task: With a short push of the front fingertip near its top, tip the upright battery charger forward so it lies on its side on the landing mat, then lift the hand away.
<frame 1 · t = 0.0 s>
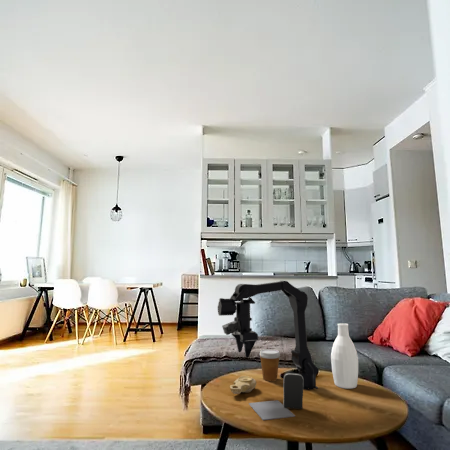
hand: (243, 354, 135), 15 cm above the table, tool pointing down, fingers open, 9 cm apart
oil lamp: (243, 393, 134), on the table
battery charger: (292, 407, 119), on the table, touching landing mat
bottle: (345, 385, 143), on the table
disposable coffee cup: (270, 379, 151), on the table
landing mat: (270, 409, 117), on the table
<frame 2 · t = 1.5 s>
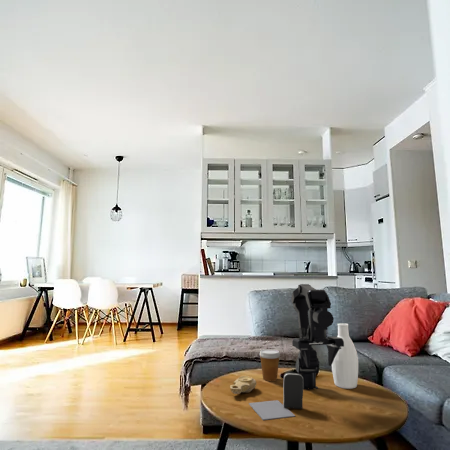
hand: (318, 366, 124), 13 cm above the table, tool pointing down, fingers open, 9 cm apart
nothing on the table moved.
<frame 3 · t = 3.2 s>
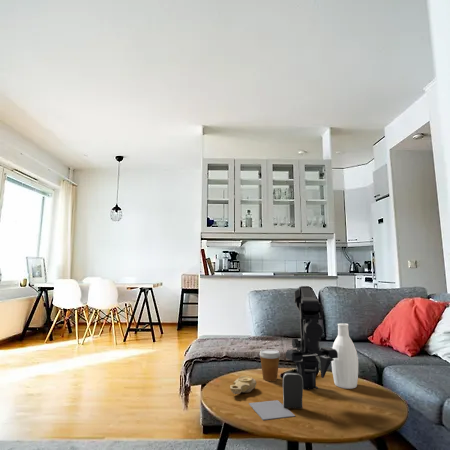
hand: (312, 378, 122), 9 cm above the table, tool pointing down, fingers open, 8 cm apart
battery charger: (292, 407, 119), on the table, touching gripper, landing mat
everything else where it was.
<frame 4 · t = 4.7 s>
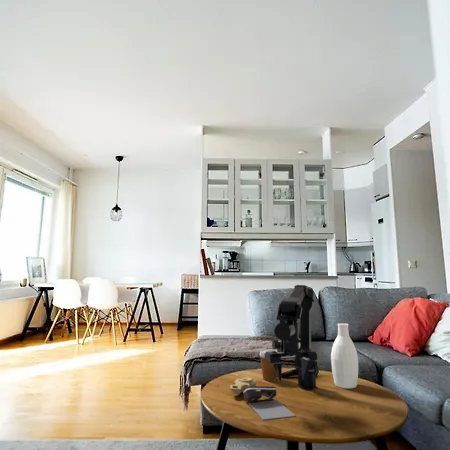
hand: (291, 380, 120), 9 cm above the table, tool pointing down, fingers open, 9 cm apart
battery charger: (274, 394, 125), point 2 cm above the table
everything else where it was.
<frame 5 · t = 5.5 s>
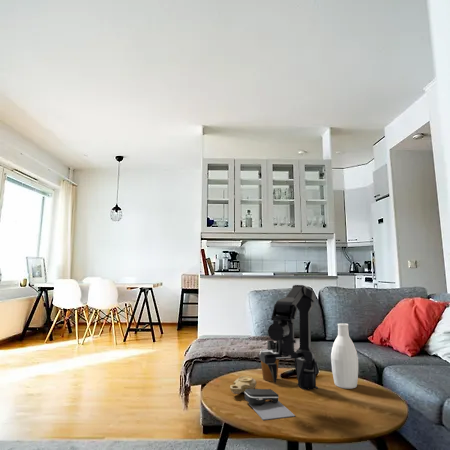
hand: (286, 381, 119), 9 cm above the table, tool pointing down, fingers open, 9 cm apart
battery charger: (275, 397, 124), point 2 cm above the table, touching landing mat
everything else where it was.
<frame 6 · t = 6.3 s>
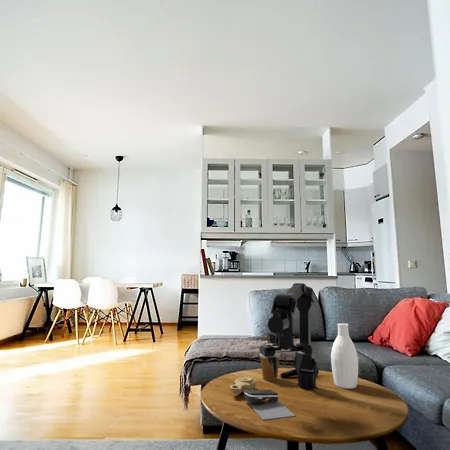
hand: (286, 374, 120), 11 cm above the table, tool pointing down, fingers open, 9 cm apart
nothing on the table moved.
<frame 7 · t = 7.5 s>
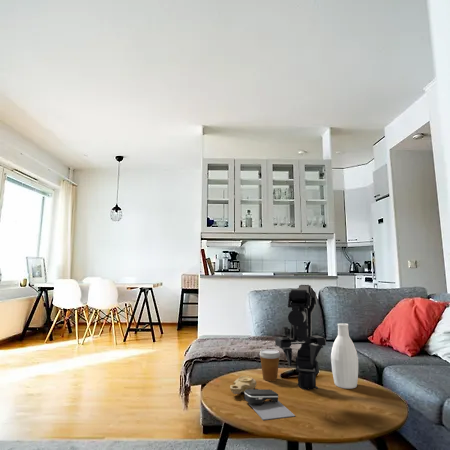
hand: (301, 365, 126), 13 cm above the table, tool pointing down, fingers open, 9 cm apart
nothing on the table moved.
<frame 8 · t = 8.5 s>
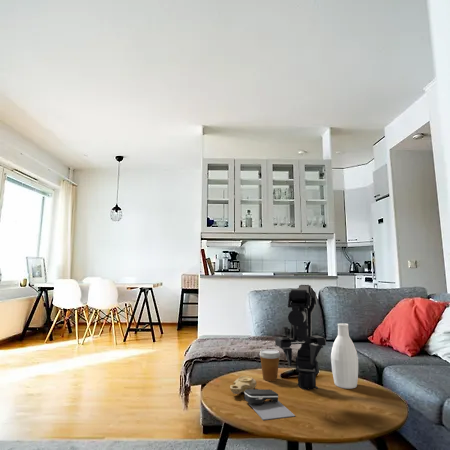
hand: (301, 365, 126), 13 cm above the table, tool pointing down, fingers open, 9 cm apart
nothing on the table moved.
at the end: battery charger tilted 84°; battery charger touching landing mat; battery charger inside the target area (7.2 cm from its centre), point 1.5 cm above the table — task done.
